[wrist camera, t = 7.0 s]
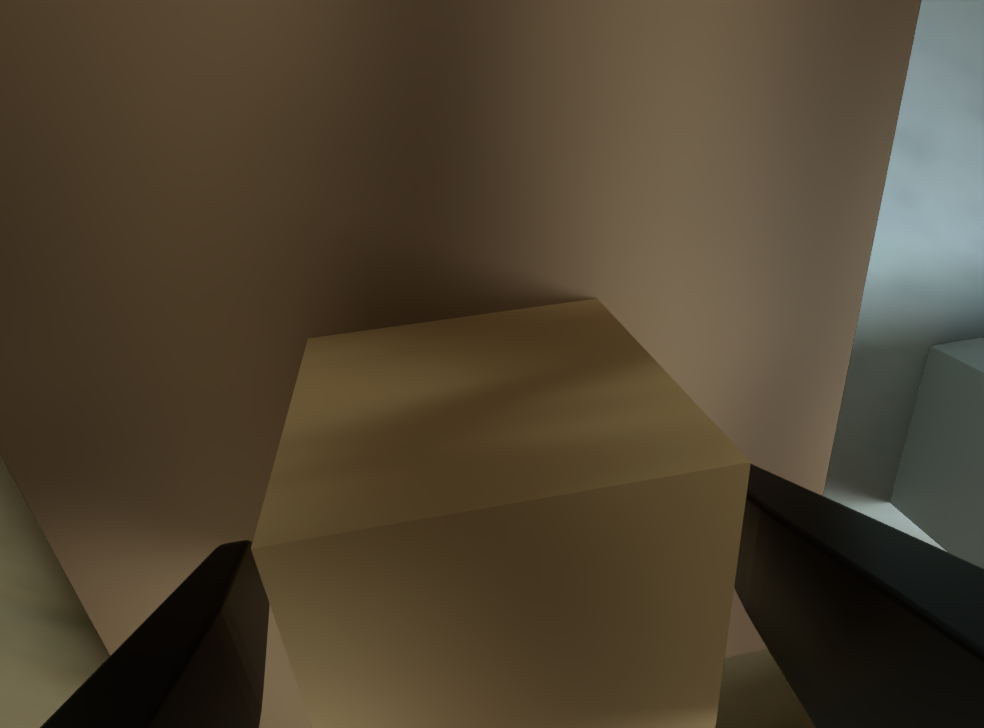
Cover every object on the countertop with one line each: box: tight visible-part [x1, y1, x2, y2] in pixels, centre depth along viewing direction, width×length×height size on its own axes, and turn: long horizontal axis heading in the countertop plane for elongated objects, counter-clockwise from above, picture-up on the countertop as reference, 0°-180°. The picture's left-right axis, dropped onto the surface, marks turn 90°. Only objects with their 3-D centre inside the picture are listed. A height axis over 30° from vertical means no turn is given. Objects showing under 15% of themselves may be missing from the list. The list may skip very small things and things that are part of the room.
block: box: [251, 298, 751, 728], centre depth 8 cm, size 4×4×4 cm
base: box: [0, 0, 921, 728], centre depth 11 cm, size 14×14×2 cm
